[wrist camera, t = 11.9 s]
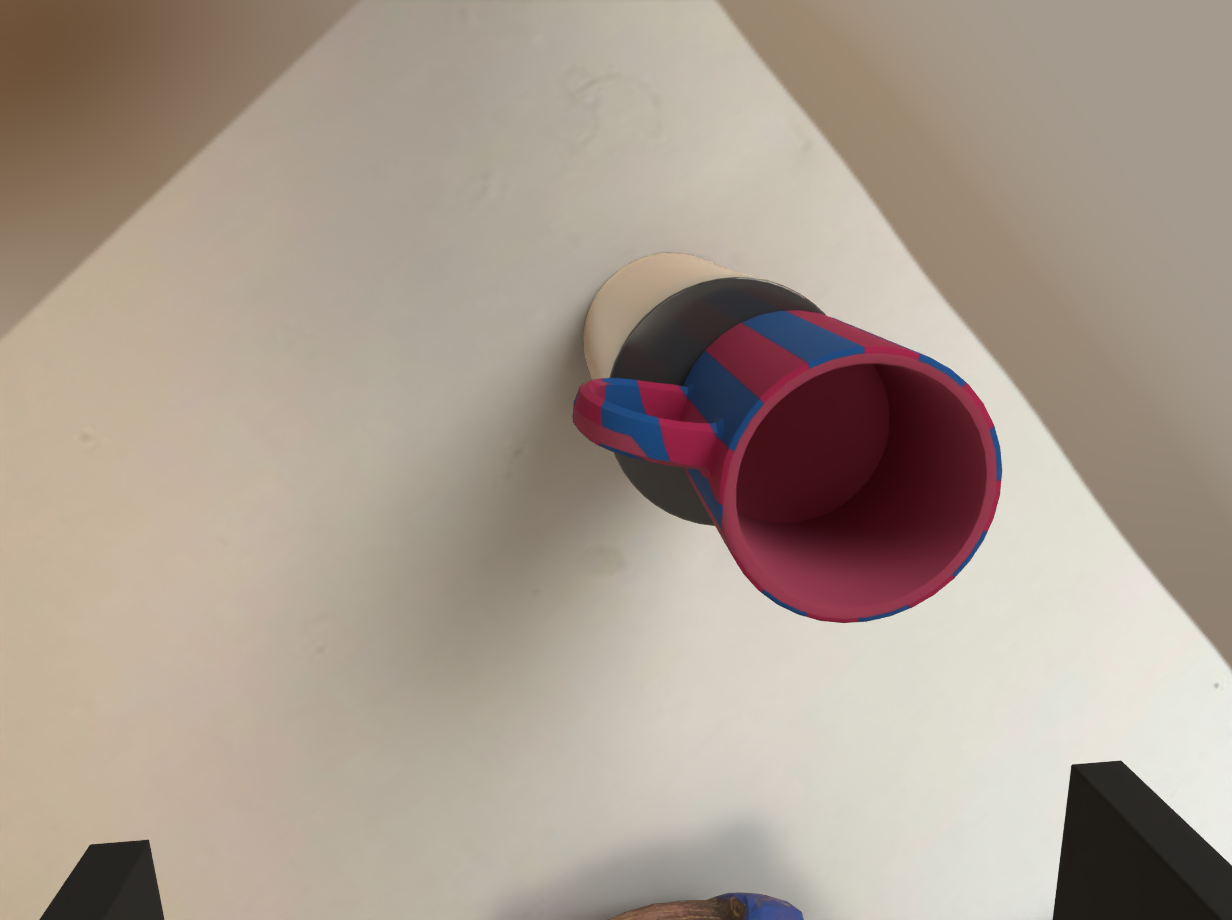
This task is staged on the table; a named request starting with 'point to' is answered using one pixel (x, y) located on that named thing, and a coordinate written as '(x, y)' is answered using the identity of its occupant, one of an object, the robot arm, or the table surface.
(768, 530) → the mug
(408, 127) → the table surface
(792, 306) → the jar
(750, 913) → the bowl
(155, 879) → the robot arm
